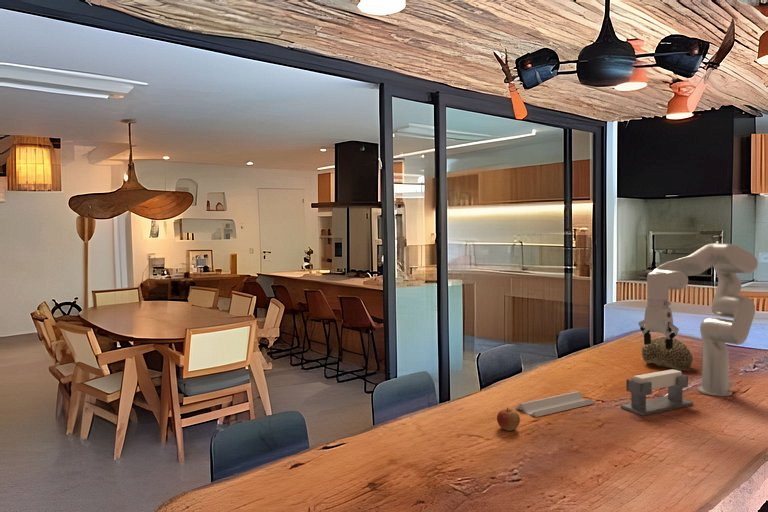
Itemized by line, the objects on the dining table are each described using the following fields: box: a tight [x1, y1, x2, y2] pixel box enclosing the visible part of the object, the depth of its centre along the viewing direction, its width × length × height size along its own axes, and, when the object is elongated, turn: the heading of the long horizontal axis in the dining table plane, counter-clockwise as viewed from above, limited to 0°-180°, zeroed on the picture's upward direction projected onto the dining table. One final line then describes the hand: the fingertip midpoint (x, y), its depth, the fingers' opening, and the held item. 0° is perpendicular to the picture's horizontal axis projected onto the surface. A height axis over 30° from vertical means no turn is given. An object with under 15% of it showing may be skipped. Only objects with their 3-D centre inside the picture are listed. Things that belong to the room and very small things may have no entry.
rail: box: [633, 368, 683, 390], centre depth 216 cm, size 22×4×5 cm, turn 114°
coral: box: [641, 336, 694, 372], centre depth 277 cm, size 23×18×15 cm
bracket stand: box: [620, 373, 694, 417], centre depth 216 cm, size 28×10×12 cm, turn 114°
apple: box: [496, 407, 521, 432], centre depth 194 cm, size 8×8×8 cm
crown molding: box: [514, 390, 595, 418], centre depth 219 cm, size 31×12×4 cm, turn 118°
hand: (658, 346), depth 218 cm, fingers open, 9 cm apart
